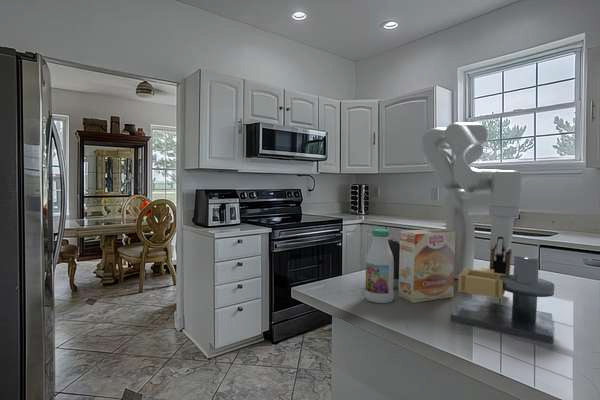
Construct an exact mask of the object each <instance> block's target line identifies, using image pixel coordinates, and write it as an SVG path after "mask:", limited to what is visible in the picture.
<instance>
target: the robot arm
mask: <svg viewBox="0 0 600 400" xmlns="http://www.w3.org/2000/svg"><path fill="white" fill-rule="evenodd" d="M487 139H488V130H487V128H486V127H485V125H484V124H482V123H480V122H465V121H464V122H463V121H462V122H459V121H457V122H453V123H450V124H449V125H448V126H446V127H433V128H429V129H427V130H425V132H424V133H423V135H422V136H421V149H422V152H423V154H424V157H425V159H426V160H427V162H428V163H429V164H430V166H431V168H432V169H433V172H434V175H435V177H436V179H437V182H438V184H439V185H440V187H441V189H442V190H443V191H445V194H444V196H443V207H444V213H445V230H449V231H454V232H456V237H455V262H454V280H458V278H459V274H460V273H461V272H462V271H463V270H464V269H472V270H474V261H475V260H474V259H475V236H476V235H475V233H476V231H475V230H476V229H475V228H476V227H475V225H474V222H473V221H472V219H471V217H470V216H486V215H488V216H489V217H490V218H492V219H491V220H492V221H491V228H490V238H489V246H488V247H489V248H488V249H489V251H490V252H491V251H492V250H491V249H494V248H495V256H494V261H493V269H494V273H501V274H505V273H506V262H505V258H506V252H508V251H509V249H511V245H512V241H513V234H514V233H513V232H514V220H517V219H519V218H520V205H521V191H522V189H521V188H522V177H523V176H522V173H521V172H520V171H518V170H510V169H508V170H506V169H505V170H504V169H489V168H488V169H485V168H482V169H479V168H476V167H471V166H470V165H471V164H473V163H475V162H476V161H478V160H479V159H480V158H481V156H482V155H483V152H484V147H483V145H484V144H485V143H486V141H487ZM446 150H452V151H453V154H454V155H455V156H456V157H455V158H454V157H453V155H451V154H450V153H449V152H447V151H446ZM502 249H503V250H504V251H502ZM502 253H503V254H502Z"/></svg>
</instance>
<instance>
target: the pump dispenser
mask: <svg viewBox="0 0 600 400" xmlns="http://www.w3.org/2000/svg"><path fill="white" fill-rule="evenodd" d="M388 244H389V247H390V250H391V252H392V255H393V260H394V280H393V289H399V259H400V241H398V240H396V239H393V238H388Z"/></svg>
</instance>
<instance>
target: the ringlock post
mask: <svg viewBox="0 0 600 400" xmlns="http://www.w3.org/2000/svg"><path fill="white" fill-rule="evenodd" d="M539 262H540V259H539V257H535V256H528V255H514V257H513V274H510V275H506V276H505V275H503V276H500V277H499V279H502V281H503V290H505V292H508V293H511V294H512V304H511V305H507V304H503V303H497V302H496V303H495V302H491V301H487V300H486V301H485V300H481V299H475V298H469V297H466V296H465V297H463V298H462V299H461V300H460V302H459V303H458V305H457V306H456V307H455V308H454V309H453V311H452V312H451V314H450V322H456V323H458V324H463V325H468V326H472V327H477V328H481V329H486V330H491V331H493V332H494V331H495V332H499V333H502V334H503V333H504V334H508V335H512V336H518V337H521V338H525V339H529V340H535V341H538V342H542V343H543V342H544V343H548V344H552V345H553V344H554V325H553V323H554V322H553V313H551V312H545V311H540V310H538V306H537V305H538V298H549V297H553V296H555V284H554V283H553V282H552V281H549V280H548V279H547V280H546V279H543V278H540V277H539V266H540V263H539ZM502 277H503V278H502ZM504 277H505V278H504Z"/></svg>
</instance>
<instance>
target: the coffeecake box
mask: <svg viewBox="0 0 600 400" xmlns="http://www.w3.org/2000/svg"><path fill="white" fill-rule="evenodd" d="M399 231H400V233H399V234H400V235H399V243H400V259H399V287H398V288H397V289H398V294H397V295H398V296H399V297H401V298H402V299H405V300H407V301H409V302H411V303H420V302H421V303H422V302H427V301H434V300H442V299H447V298H448V299H449V298H453V297H454V283H455V281H454V280H455V279H454V262H455V237H456V232H454V231H449V230H446V229H441V228H434V229H433V228H432V229H409V230H407V229H406V230H399Z"/></svg>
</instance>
